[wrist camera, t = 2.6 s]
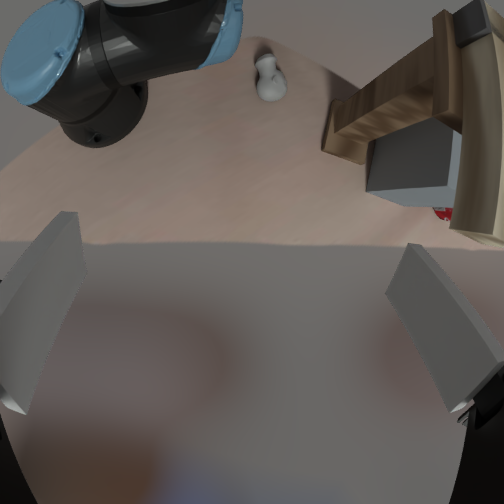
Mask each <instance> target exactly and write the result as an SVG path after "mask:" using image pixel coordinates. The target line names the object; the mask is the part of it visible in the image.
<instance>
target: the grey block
mask: <svg viewBox="0 0 504 504" xmlns="http://www.w3.org/2000/svg"><path fill="white" fill-rule="evenodd" d="M461 142H462V135H461V134H459V133H458V132H456V131H455V130H453V129H452V128H450V127H448V126H447V125H445V124H444V123H442V122H440V121H439V120H437V119H436V118H434V117H431V118H428V119H426V120H423V121H420V122H418V123H415V124H412V125H410V126H407V127H405V128H402V129H399V130H397V131H394V132H392V133H389V134H387V135H384V136H382V137H379V138H377V139H376V143H375V149H374V154H373V159H372V164H371V169H370V174H369V179H368V184H367V188H366V192H368V193H370V194H373V195H376V196H378V197H381V198H384V199H386V200H389V201H392V202H394V203H397V204H399V205H402V206H415V207H445V208H453V206H454V200H455V194H456V187H457V180H458V172H459V164H460V154H461Z"/></svg>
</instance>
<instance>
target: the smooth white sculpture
mask: <svg viewBox="0 0 504 504" xmlns="http://www.w3.org/2000/svg"><path fill="white" fill-rule="evenodd" d="M276 61H277V58H276V57H275V56H274V55H273V54H265V55H263V56H261V57H259V58H258V60H257V62H256V64H255V67H256V68H257V69H258V71H259V75H260V79H259V81H258V83H257V93H258V95H259V97H260V98H261V99H263V100H265V101H277V100H279V99H280V98H282V97H283V96H284V95H285V94H286V92H287V81H286V80H285V77H284V76H283V74H282V72H281V71H279V70H277V69H276V65H275V62H276Z"/></svg>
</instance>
